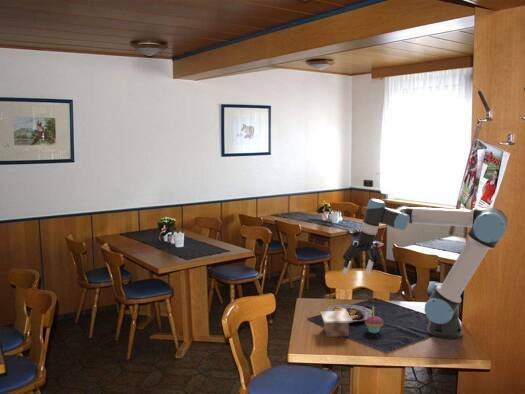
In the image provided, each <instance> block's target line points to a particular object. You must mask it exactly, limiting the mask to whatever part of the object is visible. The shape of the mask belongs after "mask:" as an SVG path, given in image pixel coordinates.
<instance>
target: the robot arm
mask: <svg viewBox="0 0 525 394" xmlns="http://www.w3.org/2000/svg"><path fill="white" fill-rule="evenodd" d="M380 224H382V225H385V226H388V227H391V228H394V229H396V230H400V231H406V229H407V228H408V225H409V224H417V225H430V226H431V225H432V226H444V227H445V226H448V227H460V228H463V227H465V228H470V229H469V231H468V233H467V237H468V240H467V242H466V243H465V245H464V246H463V248H462V250H461V252H460V253H459V255H458V257H457V258H456V260H455V262H454V264H453V265H452V267H451V269H450V270H449V272H448V274H447V275H446V277H445V279H444V280H443V282H436V283H434V284H432V288H431V289H432V294H431V295H430V297H429V298H428V300H427V301H426V302H425V304H424V313H425V315H426V317H427V318H428V319H429V321H428V323H427V324H428V325H427V332H428V334H430V335H431V336H434V337H436V338H439V339H448V340H452V339H459V338H460V337H462V336H463V328H462V326H461V325H462V324H461V321H460V319H459V315H460V314H459V313H460V309H459V308H460V304H461V302H462V298H461V295H462V294H463V292H464V290H465V288H466V287H467V285H468V284H469V282H470V280H472V278H473V275H474V274H475V273H476V271H477V269H478V268H479V266H480V264H481V263H482V261H483V260H484V258H485V256H486V254H487V253H488V251H489V250H493V249H495V248H496V246H497V244H498V242H499V241H500V239H501V238H502V237H503V236H504V234H505V232H506V229H507V226H508V218H507V216H506V214H505V213H504V212H503V211H502V210H500V209H498V208H494V207H473V208H472V209H454V208H453V209H452V208H432V207H413V206H411V207H409V206H407V205H400V206H399V207H398V206H397V208H395V209H392V208H389V207H386V202H385V201H383V200H381V199H377V198H370V199H369V200H368V203H367V205H366V208H365V212H364V217H363V219H362V223H361V227H360V230H359V233H358V240H357V241H356V240H354V239H352V241H351V244H350V245H349V247H348V248H347V249H346V250H345V252H344V253H343V255H342V257H341V258H342V259H343V260H344V262H343V263H344V264H343V270H342V273H343V274H344V275H345V276H348V274H349V270H350V268H351V263H352V262H351V261H352V260H353V259H354V258H355V257H356V256H357V255H358V254H359V253H361V252H367V255H368V256H369V259H368V262H367V265H366V268H365V273H366V274H367V275H371V272H372V269H373V268H374V264H375V263H377V262H378V261H379V260H380V258H379V249H378V247H379V242H378V241H375V240H376V237H377V234H378V230H379V227H380Z"/></svg>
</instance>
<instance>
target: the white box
mask: <svg viewBox="0 0 525 394" xmlns="http://www.w3.org/2000/svg"><path fill="white" fill-rule="evenodd" d="M319 313H320V316H321V319H322V320H323V330H324V332H325V335H326V337H327V338H331V337H332V338H333V337H338V336H340V337H350V336H349V335H350V330H349V329H350V326H349V325H350V323H354V322H353V320H352V318H351V317H350V315H349V314H350V313H349V310H347V311H326V310H324V311H319Z"/></svg>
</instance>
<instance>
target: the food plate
mask: <svg viewBox="0 0 525 394" xmlns="http://www.w3.org/2000/svg"><path fill="white" fill-rule="evenodd" d="M325 311H348V313H349V314H350V315H351V316H350V317H351V318H352V320H353V322H352V323H354V322H365V319H367V318H368V317H370V316H373V309H370V308H367V307H365V306H362V305H357V304H346V303H345V304H335V305H332V306H329V307H327V308H326V309H325ZM355 314H358V315H355Z"/></svg>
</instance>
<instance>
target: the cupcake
mask: <svg viewBox="0 0 525 394" xmlns="http://www.w3.org/2000/svg"><path fill="white" fill-rule="evenodd" d="M364 324H365V325H366V327H367V330H368V332H369V333H371V334H377V333H379V332H380V329H381V327H382V326H383V325H384V320H383V319H382V318H381V317H380V316H375V307H374V306H372V316H370V317H368V318H367V319H365V320H364Z"/></svg>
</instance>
